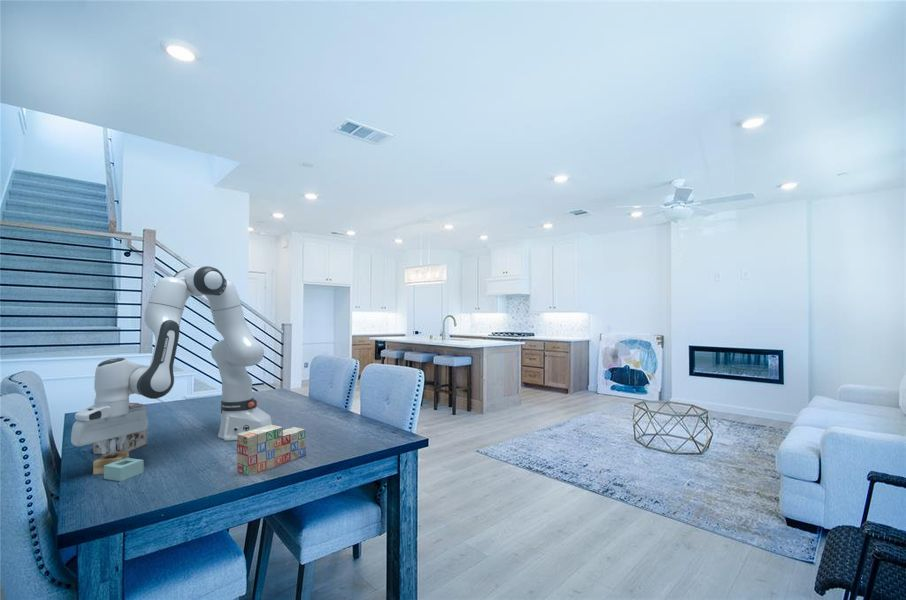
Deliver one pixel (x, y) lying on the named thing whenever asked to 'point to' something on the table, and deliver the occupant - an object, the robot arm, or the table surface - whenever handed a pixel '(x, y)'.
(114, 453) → the steel needle peg
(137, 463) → the green block with hole
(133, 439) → the decorative jar
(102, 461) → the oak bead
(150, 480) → the table surface
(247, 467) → the stack of blocks
